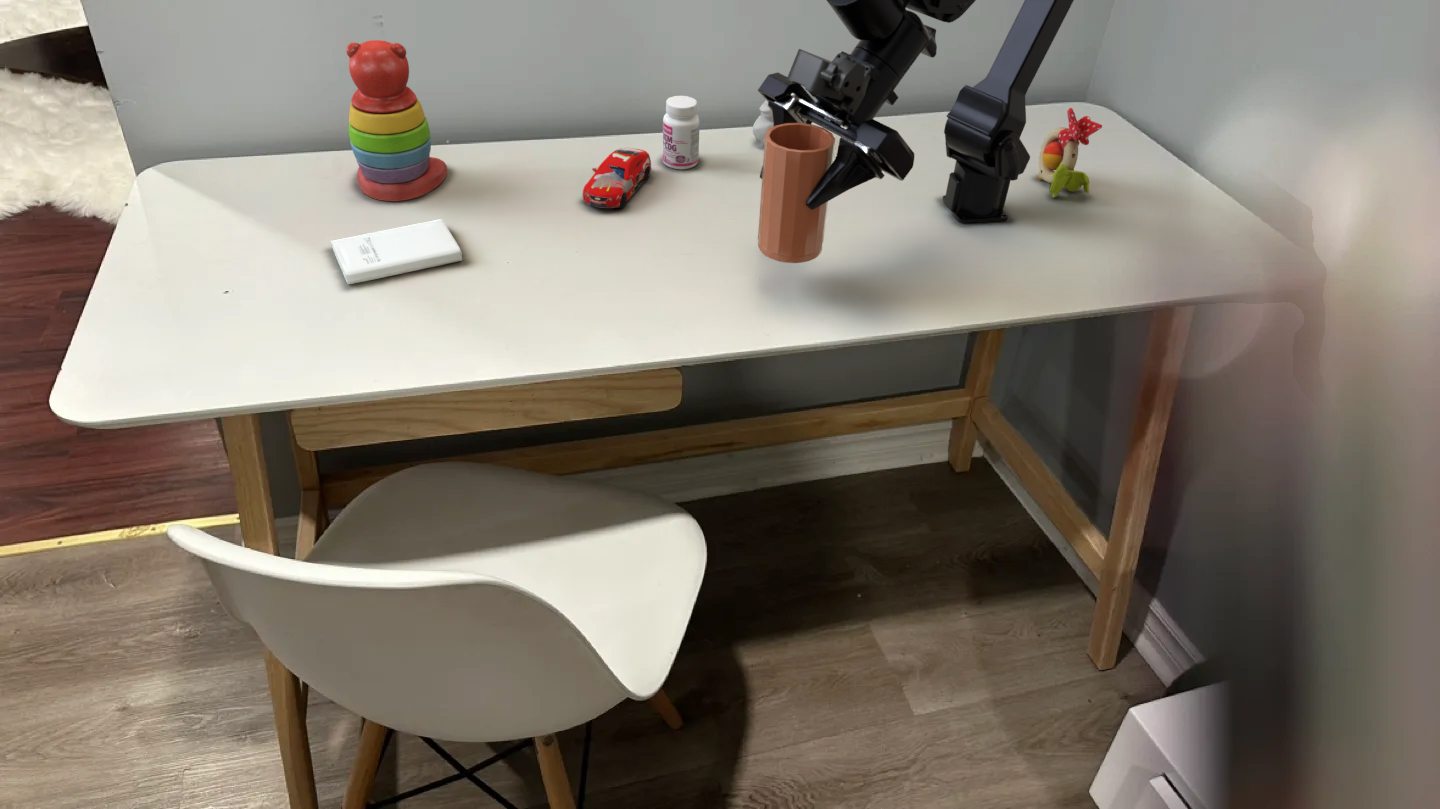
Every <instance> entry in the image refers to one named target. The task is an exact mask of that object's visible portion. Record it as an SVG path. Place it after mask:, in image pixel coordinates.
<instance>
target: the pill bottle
mask: <svg viewBox="0 0 1440 809" xmlns="http://www.w3.org/2000/svg"><path fill="white" fill-rule="evenodd" d="M697 113H698V101H697V100H696V98H694V97H691V96H687V95H673V96H670V97H668V98H667V99H666V101H665V114H664V115H663V118H662V162H663V164H664V165H665V166H667V167H669V168H670V169H675V170H688V169H691V168H694V167H695V166H696V165H698V162H699V154H700V152H699V151H700V150H699V149H700V125H701V124H700V123H701V122H700V117H699V115H698V114H697Z"/></svg>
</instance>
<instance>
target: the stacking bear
mask: <svg viewBox="0 0 1440 809" xmlns="http://www.w3.org/2000/svg"><path fill="white" fill-rule="evenodd" d="M345 51H346V56H348V58H349V60H348V69H349V70H348V71H349V74H350V78H351V80H352V82H353V84H354V85H355V86H356V88H357V89H356V90H355V91H354V93H353V94H352V96H351V100H350V105H349V111H348V112H349V113H348V120H349V122H348V139H349V142H350V148H351V150H352V153H353V155H354V157H355V159H356V162H357V166H358V169H357V176H356V177H357V184H358V187H359V189H360V190H361V192H363V193H364V194H365V195H367V196H368V197H370V198H372V199H375V200H380V201H387V202H399V201H407V200H412V199H415V198H419V197H421V196H424V195H426V194H427V193H429V192H431V191H433V190H434V189H436V188H438V186H440V184H442V183H443V182H444V180H445V179H446V177H447V174H448V167H447V164H446V162H445V161H444V160H442V159H441V158H438V157H433V156H430V155H431V149H432V138H431V129H430V125H429V122H428V119H427V117H426V115H425V111H424V109H423V106H422V103H421V101H420V100H419V98H418V97H417V95H416V93H415V92H414V91H413V89H411V88H410V87H409V86H407V85H408V82H409V77H410V66H409V61H408V58H407V49H406V48H405V47H404V46H403V45H402V44H401V43H399V42H390V41H386V40H381V39H380V40H378V39H372V40H366V41H364V42H361V43H359V42H350V43H348V44H347V47H346V50H345Z"/></svg>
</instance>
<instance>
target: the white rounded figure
mask: <svg viewBox="0 0 1440 809" xmlns="http://www.w3.org/2000/svg"><path fill="white" fill-rule="evenodd" d="M759 111H760V115H759V116H758V117H757V118H756V120H755V122H754V123H753V125H752V135H753V136H754V137H755V138H756V140H757V141H758V142H760V143H761V144H762V145H764V143H765V135H766V133H767V131H768V130H769V129H770V128H772V127H773V125H774V122H773V113H772V110H771V109H770V108H769V107H768V101H767V100H766V99H765V100H764V101H763V103H762V104H761V105H760V107H759Z"/></svg>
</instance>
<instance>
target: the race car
mask: <svg viewBox="0 0 1440 809" xmlns="http://www.w3.org/2000/svg"><path fill="white" fill-rule="evenodd" d="M591 170H592V171H593V172H594V173H593V175H592V176H591V177H590V179H589V180H588V181H587V183H586V184H585V185H584V186H583V189H582V199H583V201H584V202H585V203H586V204H588V205H589V206H592V207H595V208H601V209H602V208H603V209H615V208H621V209H623V208H624V207H625V206H626V203H627V201H628V200H630V198H631V197H632V196H633V195H634V194H635V192H636V191H638V189H639V188H640V187H641V185H642V184H643V183H644V182H648V179H649V177H650V174H651V172H652V161H651V156H650V153H648V152H647V151H646V150H644V149H640V148H634V147H621V148H617V149H615V150H614V151H612V152H611V153H610V154H609V155H608V156H607V157H606V158H604V160H603V161H602V162H601V163H600V164H599V166H598V167H597V168H596V167H592V169H591Z"/></svg>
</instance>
